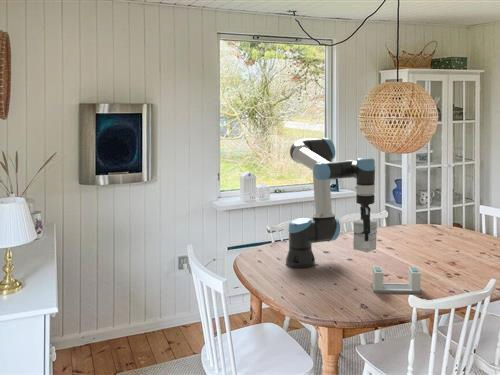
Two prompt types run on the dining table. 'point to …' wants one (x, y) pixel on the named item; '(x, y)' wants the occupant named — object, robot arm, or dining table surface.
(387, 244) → the dining table surface
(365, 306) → the dining table surface
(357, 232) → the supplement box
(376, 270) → the grey holder stand
